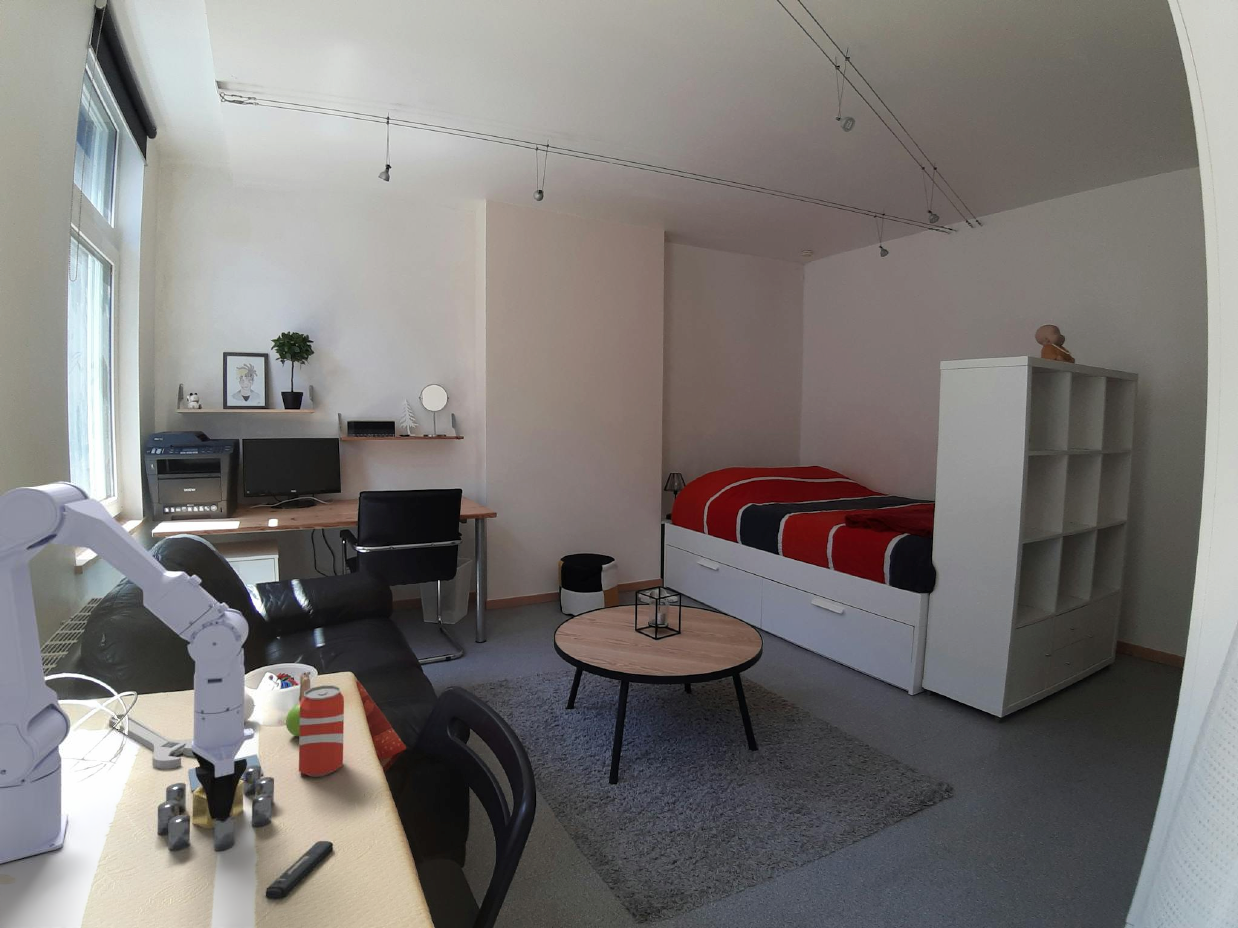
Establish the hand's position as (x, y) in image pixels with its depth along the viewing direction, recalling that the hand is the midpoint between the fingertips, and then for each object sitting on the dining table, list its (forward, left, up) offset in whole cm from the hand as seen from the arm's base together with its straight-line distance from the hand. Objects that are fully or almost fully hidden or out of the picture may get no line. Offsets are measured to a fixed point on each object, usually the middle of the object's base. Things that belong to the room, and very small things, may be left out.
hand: (218, 805), depth 87 cm
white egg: (+5, +31, -2) cm, 31 cm away
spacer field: (0, -2, -1) cm, 2 cm away
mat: (+2, +12, -1) cm, 12 cm away
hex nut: (0, 0, -1) cm, 1 cm away
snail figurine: (+14, +19, -2) cm, 24 cm away
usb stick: (+7, -18, -2) cm, 19 cm away
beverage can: (+14, +6, -2) cm, 15 cm away
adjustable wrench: (-7, +30, -2) cm, 31 cm away
